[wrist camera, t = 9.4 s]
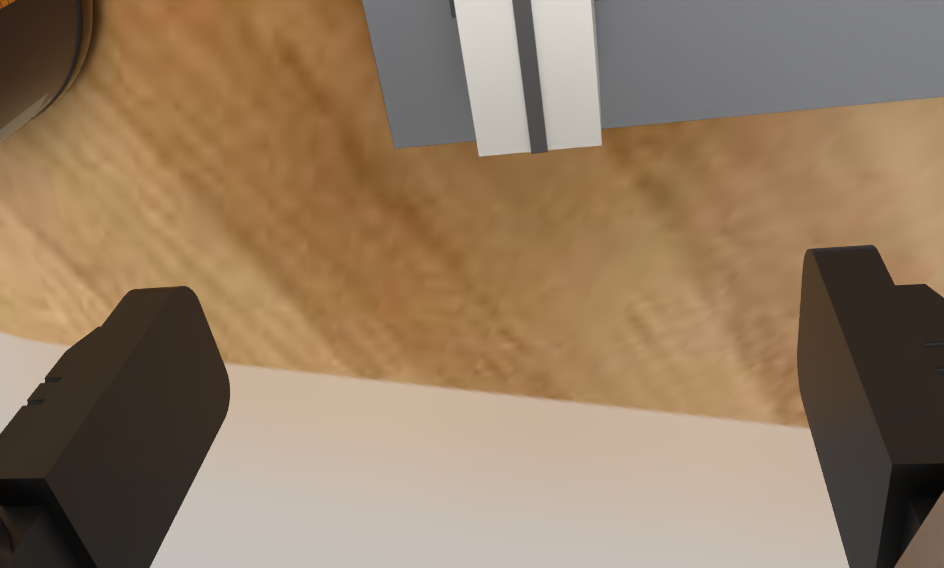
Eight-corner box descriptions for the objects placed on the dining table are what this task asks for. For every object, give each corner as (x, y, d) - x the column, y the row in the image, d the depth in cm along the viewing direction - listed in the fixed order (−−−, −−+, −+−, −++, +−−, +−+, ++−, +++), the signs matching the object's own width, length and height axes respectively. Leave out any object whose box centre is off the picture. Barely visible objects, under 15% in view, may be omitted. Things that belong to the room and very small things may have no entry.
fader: (585, -118, 22) (585, -72, 18) (598, 69, 25) (601, 146, 21) (469, -102, 23) (444, -52, 19) (495, 80, 26) (478, 158, 21)
